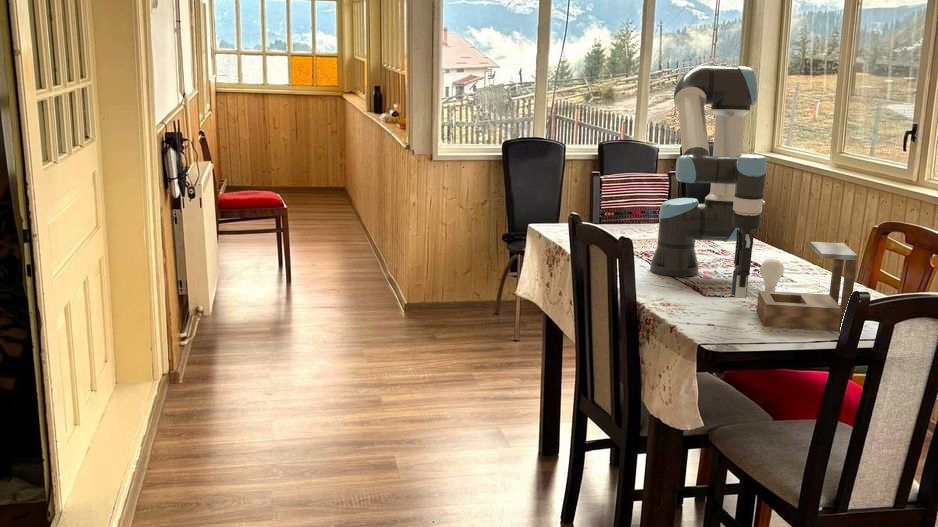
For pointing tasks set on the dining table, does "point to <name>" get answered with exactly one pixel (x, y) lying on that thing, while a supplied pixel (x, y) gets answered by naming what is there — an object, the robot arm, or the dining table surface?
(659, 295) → the dining table surface
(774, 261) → the light bulb
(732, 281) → the vaping device
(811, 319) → the socket station
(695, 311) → the dining table surface
